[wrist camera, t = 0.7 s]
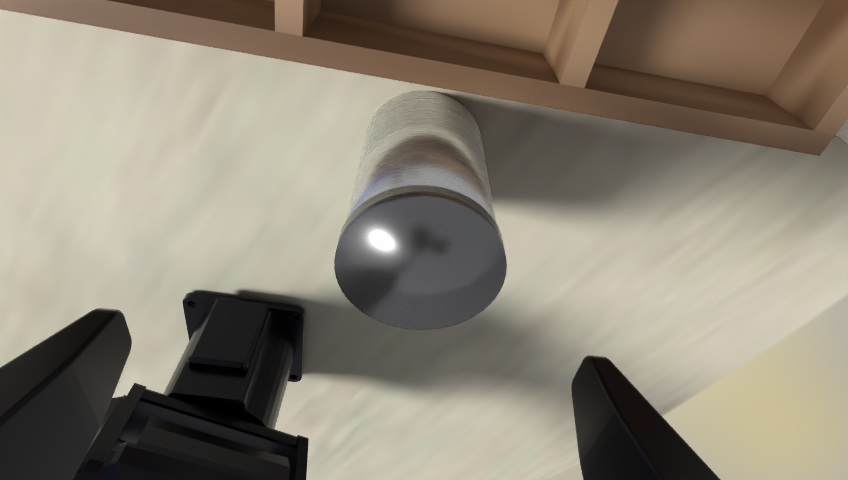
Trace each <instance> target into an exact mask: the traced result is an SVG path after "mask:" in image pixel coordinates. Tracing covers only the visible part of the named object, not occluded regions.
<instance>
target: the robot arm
mask: <svg viewBox="0 0 848 480" xmlns="http://www.w3.org/2000/svg"><path fill="white" fill-rule="evenodd" d="M193 301H194V302H193ZM183 308H184V313H185V319H186V324H187V330H188V335H189V340H190V341H189V343H188V345H187V347H186V350H185V352H184V354H183V356H182V358H181V360H180V362H179V364H178V366H177V368H176V370H175V372H174V374H173V376H172V378H171V380H170V382H169V384H168V386H167V388H166V390H165V392H164V394H161V393H158V392H155V391H151V390H148V389H146V386H143V385H139V384H136V383H134V385H133V387H132V388H131V390H130V392H129V393H128V395H127V396H125V395H124V396H123V397H122V396H121V397H117V398H112V396H113V394H114V391H115V389H116V386H117V384H118V381H119V379H120V376H121V373H122V371H123V368H124V366H125V363H126V361H127V358H128V356H129V353H130V350H131V344H132V341H131V336H130V333H129V330H128V327H127V324H126V321H125V317H124V315H123V313H122V312H121V311H120V310H114V309H104V308H98V309H95V310H92V311H91V312H89V313H87V314H86V315H84V316H83V317H81V318H79V319H78V320H76V321H75V322H73V323H71V324H70V325H68V326H67V327H65V328H63V329H62V330H60V331H58V332H57V333H55V334H54V335H52V336H50V337H49V338H47V339H46V340H44V341H42V342H41V343H39V344H38V345H36V346H34V347H33V348H31V349H29V350H28V351H26V352H25V353H23V354H21V355H20V356H18V357H17V358H15V359H13V360H12V361H10V362H9V363H7V364H5V365H4V366H2V367H1V368H0V480H306V472H307V455H308V438H306V437H303V436H300V435H298V436H297V437H296V436H293V435H290V434H287V433H284V432H281V431H278V430H274V429H275V425H276V422H277V418H278V414H279V411H280V407H281V403H282V400H283V396H284V392H285V389H286V385H287V381H291V382H297V381H300V380H301V378H302V374H303V358H304V332H305V311H304V309H303V308H301V307H299V306H294V305H286V304H278V303H270V302H263V301H255V300H247V299H240V298H232V297H224V296H217V295H209V294H201V293H188V294H187V295H186V296H185V298H184V300H183ZM294 314H296V315H294ZM572 399H573V408H574V417H575V425H576V434H577V443H578V451H579V458H580V465H581V470H582V475H583V479H584V480H720V479H719V478H718V477H717V476H716V474H714V472H713V471H712V470H711V469H710V468H709V467H708V466H707V465H706V464H705V463H704V462H703V460H702V459H701V458H700V457H699V456H698V455H697V454H696V453H695V452H694V451H693V450H692V448H691V447H690V446H689V445H688V444H687V443H686V442H685V441H684V440H683V439H682V438H681V437H680V435H679V434H678V433H677V432H676V431H675V430H674V429H673V428H672V427H671V426H670V425H669V424H668V423H667V421H666V420H665V419H664V418H663V417H662V416H661V415H660V414H659V413H658V412H657V411H656V410H655V408H654V407H653V406H652V405H651V404H650V403H649V402H648V401H647V400H646V399H645V398H644V397H643V395H642V394H641V393H640V392H639V391H638V390H637V389H636V388H635V387H634V386H633V385H632V384H631V382H630V381H629V380H628V379H627V378H626V377H625V376H624V375H623V374H622V373H621V372H620V371H619V369H618V368H617V367H616V366H615V365H614V364H613V363H612V362H611V361H610V360H609V359H608V358H606V357H600V356H587V357H585V358H584V360H583V361H582V363H581V365H580V367H579V369H578V371H577V373H576V375H575V377H574V379H573V381H572Z"/></svg>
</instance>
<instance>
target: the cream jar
mask: <svg viewBox="0 0 848 480" xmlns="http://www.w3.org/2000/svg"><path fill="white" fill-rule="evenodd" d="M836 136H838V137H839V138H841V139H842V140H844V141H845V142H846V143H848V119H847V120H846V122H845V123H844V124H843V126H842V127H841V128H840V130H839V131H838V132H837V133H836Z"/></svg>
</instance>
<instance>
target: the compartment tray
mask: <svg viewBox="0 0 848 480" xmlns="http://www.w3.org/2000/svg"><path fill="white" fill-rule="evenodd" d="M0 9H2V10H8V11H14V12H19V13H25V14H30V15H36V16H41V17H47V18H53V19H58V20H64V21H69V22H75V23H81V24H86V25H92V26H97V27H103V28H109V29H114V30H120V31H125V32H131V33H136V34H142V35H148V36H153V37H159V38H164V39H170V40H176V41H181V42H187V43H192V44H198V45H204V46H209V47H215V48H220V49H226V50H231V51H237V52H243V53H248V54H254V55H259V56H265V57H271V58H276V59H282V60H287V61H293V62H299V63H304V64H310V65H315V66H321V67H326V68H332V69H338V70H343V71H349V72H354V73H360V74H366V75H371V76H377V77H382V78H388V79H394V80H399V81H405V82H410V83H416V84H421V85H427V86H433V87H438V88H444V89H449V90H455V91H461V92H466V93H472V94H477V95H483V96H488V97H494V98H500V99H505V100H511V101H516V102H522V103H528V104H533V105H539V106H544V107H550V108H556V109H561V110H567V111H572V112H578V113H583V114H589V115H595V116H600V117H606V118H611V119H617V120H623V121H628V122H634V123H639V124H645V125H651V126H656V127H662V128H667V129H673V130H678V131H684V132H690V133H695V134H701V135H706V136H712V137H718V138H723V139H729V140H734V141H740V142H746V143H751V144H757V145H762V146H768V147H773V148H779V149H785V150H790V151H796V152H801V153H807V154H813V155H818V156H820V154H821V153H822V152H823V150H824V149H825V148H826V147H827V145H828V144H829V143H830V141H831V140H832V139H833V137H834V136H835V135H836V133H837V132H838V131H839V130H840V128H841V127H842V126H843V124H844V123H845V122H846V120H847V119H848V0H0Z"/></svg>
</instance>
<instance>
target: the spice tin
mask: <svg viewBox="0 0 848 480" xmlns="http://www.w3.org/2000/svg"><path fill="white" fill-rule="evenodd" d="M506 268H507V265H506V256H505V250H504V245H503V240H502V236H501V233H500V230H499V228H498V226H497V224H496V219H495V213H494V207H493V202H492V196H491V190H490V185H489V179H488V173H487V168H486V162H485V156H484V151H483V145H482V139H481V134H480V130H479V127H478V125H477V122H476V120H475V119H474V117H473V115H472V114H471V113H470V112H469V110H468V109H467V108H466V107H465V106H464V105H462V104H461V103H460V102H458V101H457V100H455V99H453V98H452V97H450V96H447V95H444V94H442V93H438V92H432V91H415V92H409V93H405V94H402V95H400V96H397V97H395V98H393V99H392V100H390V101H388V102H387V103H386V104H385V105H383V106H382V107H381V108H380V109H379V110H378V111H377V113H376V114H375V116H374V117H373V119H372V121H371V123H370V125H369V128H368V131H367V135H366V139H365V144H364V148H363V152H362V157H361V161H360V165H359V170H358V174H357V178H356V183H355V187H354V191H353V196H352V200H351V204H350V209H349V213H348V217H347V220H346V222H345V224H344V226H343V228H342V231H341V234H340V237H339V241H338V245H337V250H336V255H335V274H336V278H337V281H338V284H339V286H340V288H341V290H342V292H343V293H344V294H345V296H346V297H347V298H348V300H349V301H350V302H351V303H352V304H353V305H354V306H355V307H357V308H358V309H359V310H360V311H362V312H363V313H365V314H366V315H368V316H369V317H371V318H373V319H375V320H377V321H380V322H382V323H385V324H388V325H392V326H395V327H400V328H406V329H416V330H428V329H438V328H443V327H448V326H452V325H455V324H458V323H461V322H463V321H466V320H468V319H470V318H472V317H474V316H475V315H477V314H478V313H480V312H481V311H483V310H484V309H485V308H486V307H487V306H488V305H489V304H490V303H491V302H492V301H493V300H494V299H495V298H496V296H497V295H498V293H499V292H500V290H501V288H502V286H503V283H504V280H505V276H506Z"/></svg>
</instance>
